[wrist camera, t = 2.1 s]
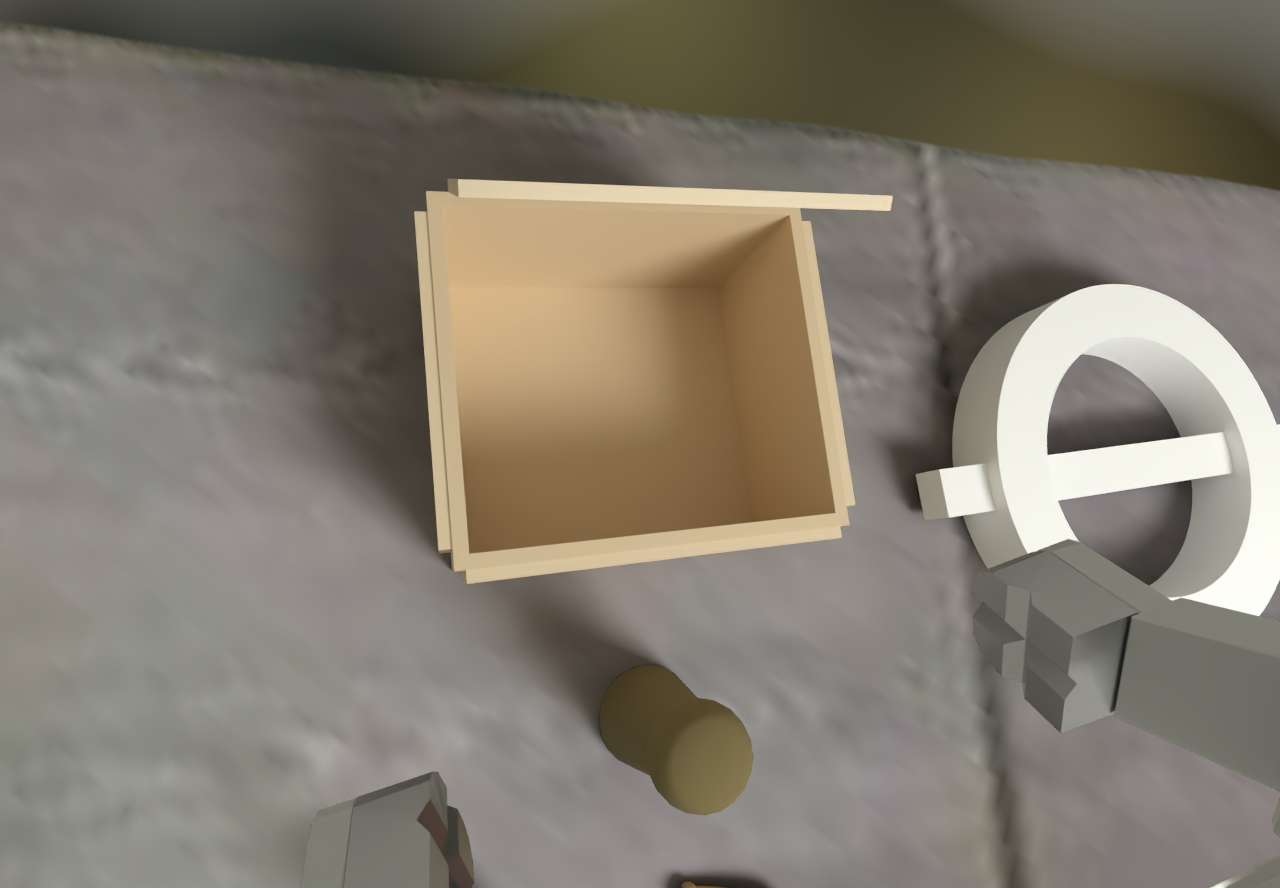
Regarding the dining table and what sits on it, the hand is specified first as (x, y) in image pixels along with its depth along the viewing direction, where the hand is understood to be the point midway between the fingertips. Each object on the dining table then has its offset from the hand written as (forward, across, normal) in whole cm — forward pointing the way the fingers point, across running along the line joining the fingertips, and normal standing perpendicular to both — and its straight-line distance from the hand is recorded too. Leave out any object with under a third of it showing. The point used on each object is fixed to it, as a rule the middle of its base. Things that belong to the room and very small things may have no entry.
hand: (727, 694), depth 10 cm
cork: (+24, 0, +26) cm, 35 cm away
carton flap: (+29, -7, -3) cm, 30 cm away
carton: (+34, -3, +10) cm, 36 cm away
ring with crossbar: (+32, -41, +27) cm, 58 cm away
